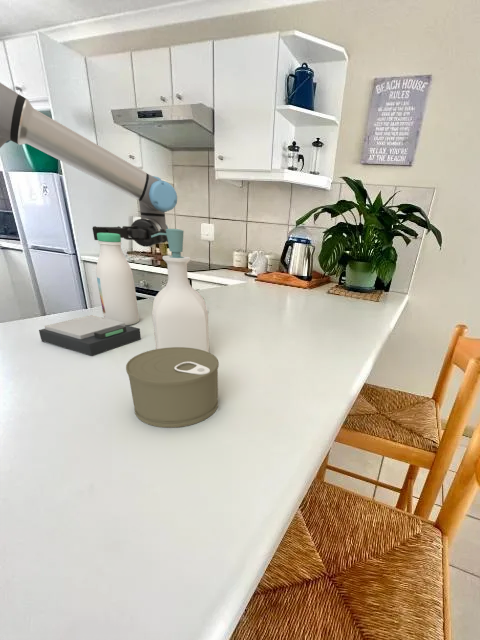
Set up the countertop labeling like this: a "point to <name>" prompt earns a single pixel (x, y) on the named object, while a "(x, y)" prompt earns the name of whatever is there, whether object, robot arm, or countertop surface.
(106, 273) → the milk bottle
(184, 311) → the soap bottle
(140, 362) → the can
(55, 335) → the kitchen scale
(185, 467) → the countertop surface
